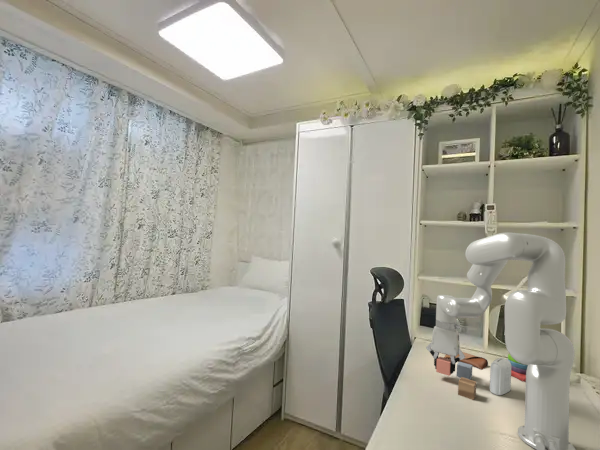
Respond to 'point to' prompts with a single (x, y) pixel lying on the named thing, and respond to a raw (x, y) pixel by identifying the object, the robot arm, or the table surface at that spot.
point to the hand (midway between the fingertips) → (444, 370)
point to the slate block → (464, 370)
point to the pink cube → (443, 366)
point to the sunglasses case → (472, 360)
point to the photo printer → (500, 376)
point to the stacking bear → (518, 369)
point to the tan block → (467, 388)
